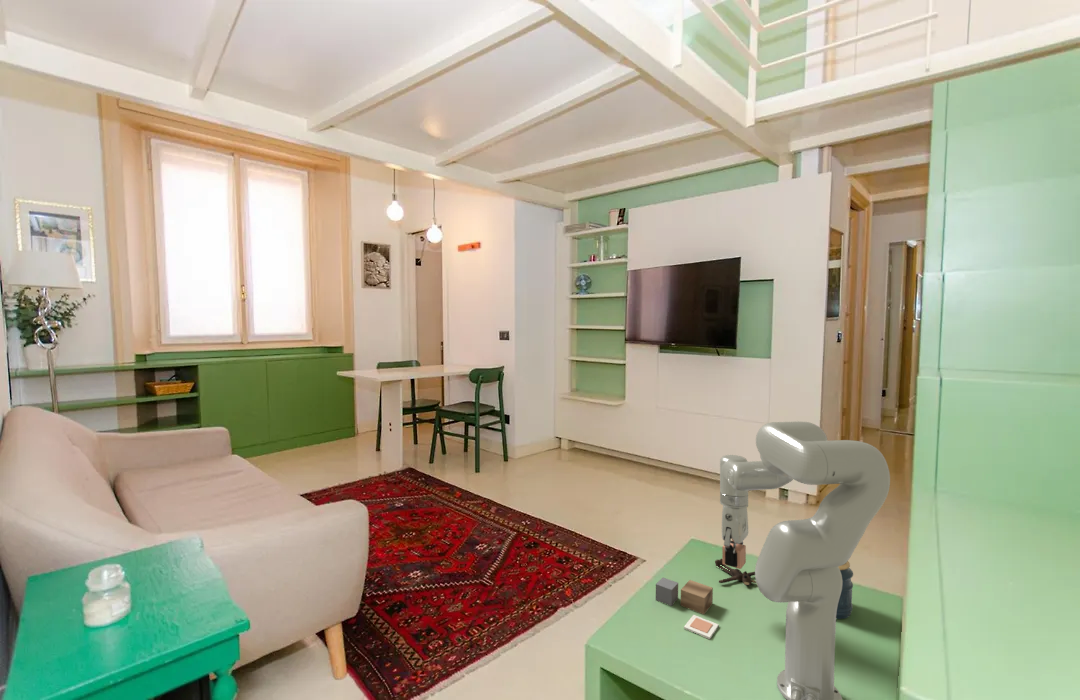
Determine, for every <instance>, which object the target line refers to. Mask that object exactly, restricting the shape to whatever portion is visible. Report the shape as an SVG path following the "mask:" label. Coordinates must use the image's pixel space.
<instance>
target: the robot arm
mask: <svg viewBox="0 0 1080 700" xmlns="http://www.w3.org/2000/svg"><path fill="white" fill-rule="evenodd" d="M755 446H756V449H757V451H758V453H759V456H760V460H759V461H757V460H755V461H753V460H752V461H748V459H747V458H745V457H743V456H741V455H736V454H735V455H734V454H727V455H726V454H725V455H722V456H721V457H720V459H719V503H720V505H722V512H721V538H722V540H723V541H724V542H723V546H725V564H726V566H728V565H729V566H728V567H731V566H733V568H735V567H737V553H736V545H737V544H742V545H744V540H745V539H746V538H747V537H748V536H749V518H748V517H749V516H748V507H749V491H759V490H760V491H762V490H776V489H779V488H781V487H784V486H785V485H787V484H789V483H792V482H793V481H796V482H798V483H801V484H803V485H810V486H819V485H821V486H822V485H838V486H837V487H835V488H833V490H831V491H829V492H828V493H827V495H825V496H824V497H823V498H822V501H820V503H819V506H818V509H817V510H816V512H815V513H814V515H813V516H811V517H808V518H805V519H790V520H789V519H788V520H783V521H780V522H778V523H776V524H775V525H774V526H772V528H770V530H769V532H768V534H767V537H766V539H765V541H764V543H763V545H762V548H761V550H760V553H759V555H758V558H757V560H756V563H755V567H754V568H755V569H754V572H755V575H754V576H755V581H756V583H755V584H756V586H757V588H758V590H759V592H760V593H761V595H762V596H763V597H764V598H766V599H767V600H769V601H772V602H774V603H787V606H786V611H785V614H786V615H785V645H784V647H785V649H784V655H785V657H784V669H783V670H781V671H780V672H779V673H778V675H777V677H776V685H777V688H778V691H779V693H780V694H781V695H782V696H783V697H784V699H785V700H843V698H842V695H841V692H840V691H839V689H837V687H836V686H835V662H836V661H835V659H836V654H835V653H836V630H837V629H836V628H837V619H836V613H837V606H838V602H839V599H840V595H841V591H842V575H841V572H840V569H839V567H838V566H841V565H844V564H845V563H846V562H847V561H848V562H849V560H850V558H851V556H852V555H853V553H854V551H855V550H856V548H857V546H858V545H859V542H860V541H861V539H862V538H863V536H864V534H865V532H866V530H867V528H868V526H869V525H870V523H871V521H872V520H873V519H874V517H875V516H876V515H877V513H878V512H879V511H880V509H882V507H883V505H884V503H885V501H886V499H887V498H888V495H889V491H890V486H891V485H890V484H891V474H890V469H889V465H888V463H887V460H886V458H885V457H884V455H883V453H882V452H881V451H880V450H879V449H878V448H877V447H876V446H873V445H872V444H870V443H867V442H864V441H861V440H860V441H858V440H852V439H851V440H850V439H842V440H841V439H837V440H835V439H834V440H828V437H827V435H826V433H825V431H824V430H823V429H822V428H821V427H820V426H819V425H817V424H815V423H813V422H809V421H779V422H777V421H773V422H768V423H765V424H764V425H762V426H761V427H760V428H759V430H758V431H757V433H756V436H755ZM730 543H733V546H732V545H731V544H730Z"/></svg>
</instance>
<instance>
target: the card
mask: <svg viewBox="0 0 1080 700" xmlns="http://www.w3.org/2000/svg"><path fill="white" fill-rule="evenodd" d="M719 626H720V625H719V623H716V622H713V621H712V620H708V619H705V618H704V617H701V616H698V615H696V614H692V616H691V617H690V619H688V621H687V622H686V623H685V625H684V626H683V629H684V630H685V629H686V631H688V630H689V632H690V631H691V632H690V633H693V632H694V633H693V634H695V633H696V635H697V634H699V635H698V636H700V635H701V636H700V637H702V636H703V638H705V639H707V640H711V638H712V637H713V636H714V634H715V632H716V631H717V630H718V628H719Z"/></svg>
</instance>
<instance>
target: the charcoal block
mask: <svg viewBox="0 0 1080 700" xmlns="http://www.w3.org/2000/svg"><path fill="white" fill-rule="evenodd" d="M678 600H679V582H677V581H675V580H671V579H669V578H665V577H661V578H660V579H659V580H658V582H656V583H655V601H657V602H659V601H660V603H662V602H663V604H664V603H666V604H665V605H667V604H668V606H670V607H672V606H673V605H674V604H675V603H676V602H677V601H678ZM675 601H676V602H675ZM674 602H675V603H674Z"/></svg>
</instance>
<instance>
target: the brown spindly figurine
mask: <svg viewBox="0 0 1080 700" xmlns="http://www.w3.org/2000/svg"><path fill="white" fill-rule="evenodd" d="M714 562H715V567H716V566H718V567H719V568H721V569H723V570H724V571H725V573H726V574H728V573H729V575H730V576H731V577H727V578H723V579H720V580H718V583H719V584H725V583H729V582H733V581H739V582H742V583H743V584H744V585H745V586H751V585H752V584H757V583H756V580H754V579H752V577H753V576H755V571H750V572H748V571H746V570H745V571H743V572H742V571H741V569H738V568H732V567H731V566H728V565H724V564H722V558H719V559H716V560H715V561H714ZM720 565H722V566H724V567H725V568H727V569H728V570H727V569H725V568H723V567H722V566H720ZM719 568H718V569H719ZM723 570H722V571H723ZM729 570H730V571H729ZM724 571H723V572H724Z"/></svg>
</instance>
